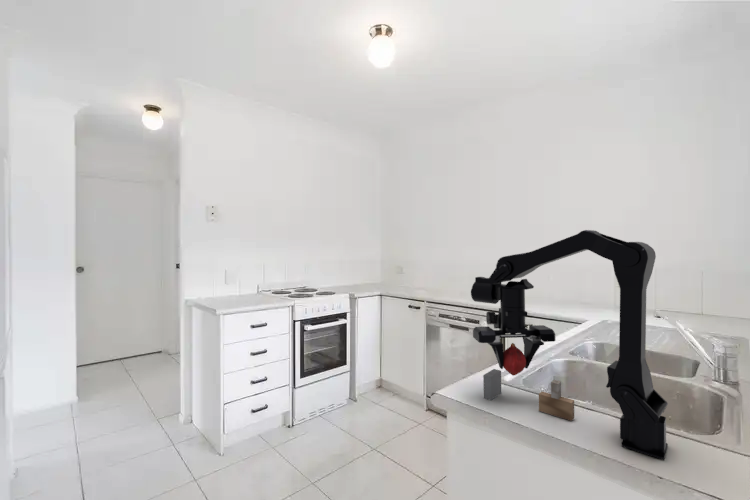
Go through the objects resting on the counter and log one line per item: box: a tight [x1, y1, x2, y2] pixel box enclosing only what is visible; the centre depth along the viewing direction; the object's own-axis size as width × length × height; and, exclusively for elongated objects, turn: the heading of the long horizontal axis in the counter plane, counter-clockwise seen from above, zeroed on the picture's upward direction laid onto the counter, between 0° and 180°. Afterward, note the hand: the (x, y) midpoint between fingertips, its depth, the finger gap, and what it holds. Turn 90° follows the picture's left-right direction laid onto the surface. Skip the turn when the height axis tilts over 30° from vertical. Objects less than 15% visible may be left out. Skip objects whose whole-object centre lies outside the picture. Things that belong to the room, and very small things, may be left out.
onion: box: [503, 342, 526, 377], centre depth 87 cm, size 6×6×8 cm
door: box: [538, 379, 575, 422], centre depth 81 cm, size 7×2×8 cm, turn 46°
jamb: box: [482, 368, 502, 401], centre depth 92 cm, size 2×6×6 cm, turn 136°
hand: (513, 368), depth 87 cm, fingers closed on onion, 6 cm apart
